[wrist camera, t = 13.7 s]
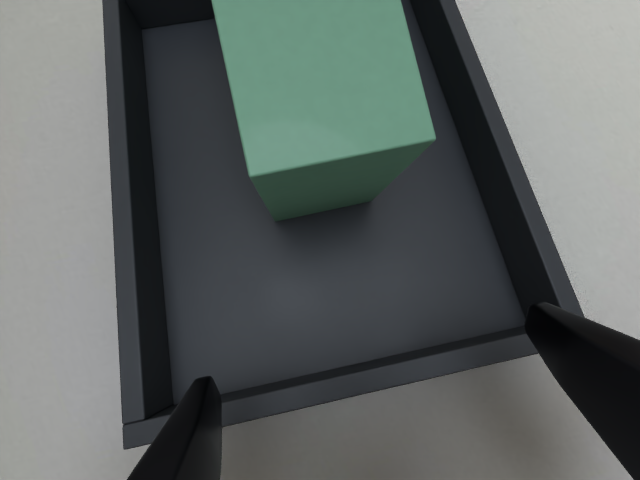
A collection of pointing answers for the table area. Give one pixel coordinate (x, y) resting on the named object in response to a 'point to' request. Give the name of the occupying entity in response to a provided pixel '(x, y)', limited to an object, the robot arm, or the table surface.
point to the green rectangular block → (323, 98)
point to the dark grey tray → (307, 236)
